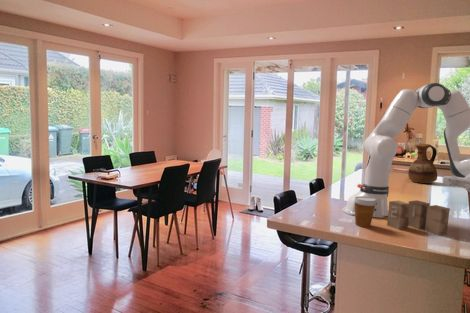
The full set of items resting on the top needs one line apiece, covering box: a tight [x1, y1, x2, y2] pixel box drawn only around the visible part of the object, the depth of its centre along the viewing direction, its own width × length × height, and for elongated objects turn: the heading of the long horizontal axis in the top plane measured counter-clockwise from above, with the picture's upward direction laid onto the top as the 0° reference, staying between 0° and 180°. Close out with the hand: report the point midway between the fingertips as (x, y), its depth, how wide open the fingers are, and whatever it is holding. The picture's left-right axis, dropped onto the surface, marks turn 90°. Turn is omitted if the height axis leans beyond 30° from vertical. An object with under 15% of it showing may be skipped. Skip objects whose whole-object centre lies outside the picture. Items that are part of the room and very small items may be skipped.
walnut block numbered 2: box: [386, 200, 410, 230], centre depth 164 cm, size 6×6×11 cm
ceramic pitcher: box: [407, 143, 438, 184], centre depth 287 cm, size 20×20×30 cm
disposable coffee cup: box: [354, 196, 376, 228], centre depth 164 cm, size 10×10×12 cm
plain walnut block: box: [424, 204, 451, 236], centre depth 159 cm, size 6×6×11 cm
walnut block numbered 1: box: [408, 200, 431, 230], centre depth 167 cm, size 6×6×11 cm
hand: (457, 184), depth 163 cm, fingers open, 5 cm apart
